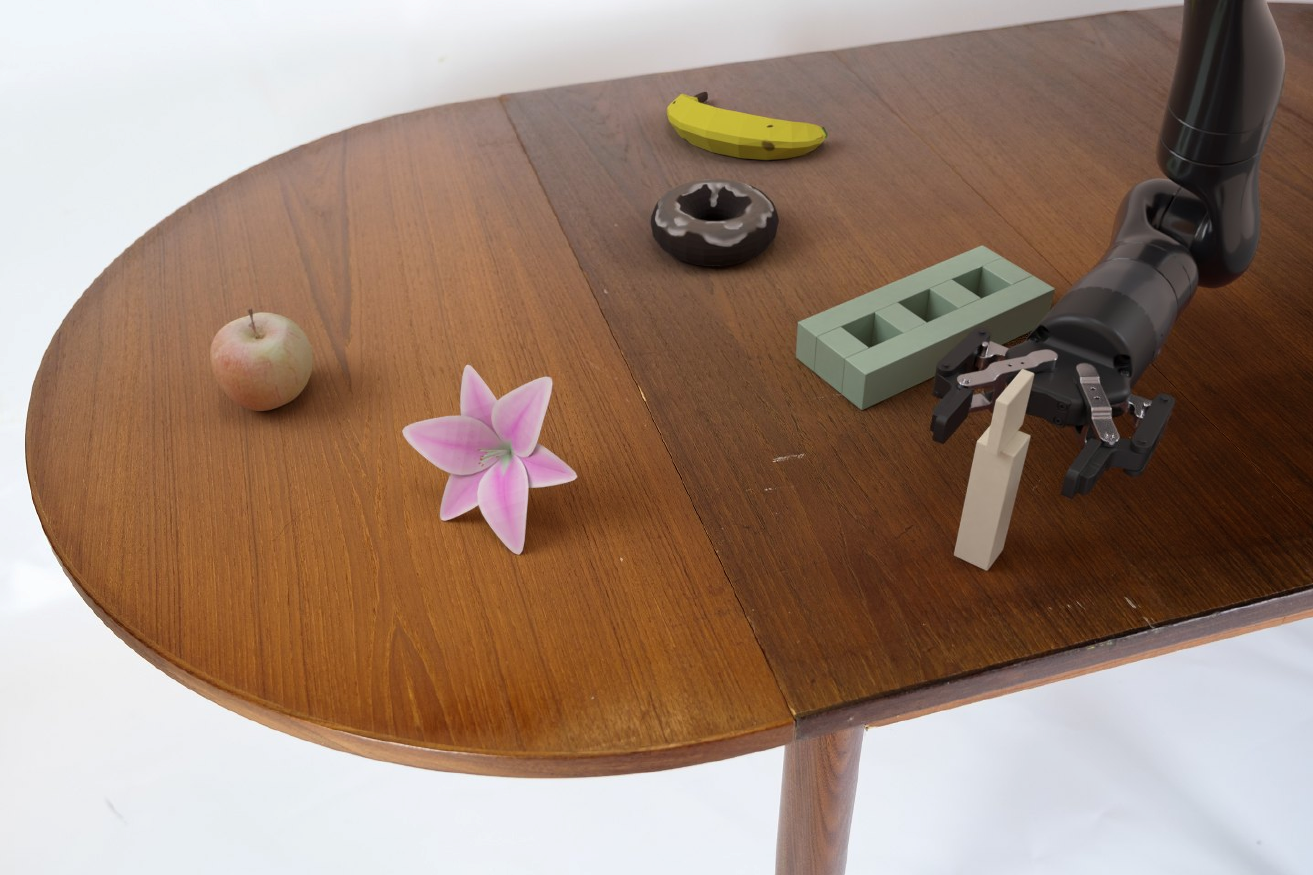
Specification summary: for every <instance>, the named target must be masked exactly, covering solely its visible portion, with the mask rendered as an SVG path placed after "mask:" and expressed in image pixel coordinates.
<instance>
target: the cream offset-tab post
mask: <svg viewBox="0 0 1313 875" xmlns="http://www.w3.org/2000/svg"><path fill="white" fill-rule="evenodd" d="M1033 378H1034V373H1032V372H1030V371H1027V370H1024V369H1022V370H1021V371H1020V372H1019V373H1018V375H1017V376H1016V377H1015V378H1014V379H1013V381H1012V382H1011V383H1010V384H1009V385H1008V386H1007V385H1006V387H1005V388H1004V391H1003V392H1002V394H1001V395H1000V396H999V397H998V398H997V399H996V403H995V407H994V412H993V413H992V417H991V422H990V425H989V426H988V427H987V429H986V430H985V431H984V432H983V434H982V435H981V436H980V437H979V438H978V439H977V441H976V444H975V448H974V454H973V459H972V464H971V468H970V473H969V477H968V478H969V479H968V483H967V489H966V494H965V498H964V502H963V506H962V507H963V508H962V513H961V518H960V522H959V523H960V524H959V528H958V532H957V538H956V543H955V547H954V552H953V556H954V557H956V558H958V559H960V560H963V561H965V562H967V563H969V564H970V565H973V566H976V567H978V568H980V569H982V570H983V571H986V572H988V571H989V569H990V568H991V567H992V565H993V564H994V563H995V561H997V559H998V558H999V556H1000V555H1001V553H1002V552H1003V550H1004V547H1005V543H1006V540H1007V535H1008V531H1009V528H1010V527H1009V526H1010V522H1011V518H1012V515H1013V510H1014V506H1015V503H1016V499H1017V494H1018V490H1019V486H1020V481H1021V478H1022V474H1023V470H1024V465H1025V460H1026V458H1027V453H1028V450H1029V445H1030V441H1031V438H1032V437H1031V434H1029V433H1026V432H1024V431H1021V430H1020V429H1021V427H1022V426H1023V424H1024V420H1025V415H1026V414H1025V412H1026V408H1027V403H1028V399H1029V395H1030V391H1031V386H1032V382H1033Z"/></svg>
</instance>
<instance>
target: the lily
mask: <svg viewBox="0 0 1313 875" xmlns="http://www.w3.org/2000/svg"><path fill="white" fill-rule="evenodd" d="M552 390H553V379H552V377H550V376H542V377H539V378H535V379H534V380H531V381H529V382H526V383H524V384H522V385H520V386H518V387H516V388H514V389H513V390H511V391H509V392H508V393H506V394H504V395H502V396H501V397H500V398H498V399H497V398H496V396H495V395H494V393H493V392H492V390H491V389H490V388H489V386H488V385H487V384H486V382H485V381H484V379H483V378H482V377H481V376H480V374H479V373H478V372H477V371H476V370H475V369H474V367H473V366H472V365H470V364H466V365H465V366H464V368H463V373H462V377H461V386H460V399H459V406H460V414H459V415H446V416H445V415H444V416H439V417H434V418H428V419H424V420H420V421H417V422H412V423H410V424H408V425H406V426H404V428H403V429H402V431H401V432H402V435H403V438H404V439H405V440H406V441H407V443H408V444H409V445H410V446H411V447H412V448H414V450H416V452H418V453H419V454H420V455H421V456H422V457H424V458H425V459H426V460H427V461H428V462H429V463H431V464H433V466H435V467H437V469H439V470H441V471H444V472H446V473H448V474H449V477H448V480H447V482H446V484H445V487H444V491H443V493H442V494H443V495H442V498H441V503H440V507H439V508H440V509H439V518H440V521H444V522H445V521H448V520H452V519H455V518H457V517H459V516H461V515H463V514H465V513H467V512H469V511H471V510H473V509H475V508H476V507H478V508H479V510H480V512H481V515H482V517H483V518H484V520H485V521H486V522H487V524H488V525H489V527H490V528H491V529H492V531H493V532H494V534H495V535H496V536H497V537H498V538H499V540H500V541H501V542H502V543H503V544H504V545H505V547H506V548H508V550H510V551H511V552H512V553H513V554H516V555H519V556H520V555H521V553H522V552H523V551H524V545H525V540H526V529H527V528H526V527H527V514H528V513H527V512H528V502H529V488H532V489H534V488H535V489H536V488H545V487H552V486H557V485H562V484H566V483H569V482H573V481H575V480H576V479H577V478H578V475H577V472H576V471H575V470H574V469H573V468H572V467H571V466H569V465H568V464H567V463H566V462H565V461H563V459H561V458H560V457H558V456H557V455H556V454H555V453H553V452H552V451H551V450H550V449H548V448H546V447H545V446H544V445H542V444H540V443H539V442H538V440H539V437H540V434H541V430H542V427H543V424H544V420H545V416H546V413H547V410H548V407H549V403H550V399H551V396H552Z"/></svg>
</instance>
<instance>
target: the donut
mask: <svg viewBox="0 0 1313 875" xmlns="http://www.w3.org/2000/svg"><path fill="white" fill-rule="evenodd" d="M779 223H780V219H779V213H778V211H777V208H776V205H775V204H774V202H773V200H771V199H770V197H769V196H768V195H767V194H766V193H764V192H763V190H761V189H759V188H757V187H755V186H753V185H751V184H748V183H745V182H742V181H738V180H731V179H726V178H725V179H724V178H707V179H705V178H704V179H699V180H693V181H690V182H686V183H683V184H679V185H678V186H676V187H674V188H672V189H670V190H668V191H667V192H666V193H665V194H664V195H663V196H661V198H660V199H658V201H656V204H655V206H654V208H653V211H652V213H651V216H650V227H651V232H652V237H653V238H654V240H655V242H656V243H657V244H658V246H659V247H660V248H661V250H663V251H664V252H665V253H667V254H668V255H670V256H671V257H673V258H674V259H676V260H679V261H681V262H685V263H687V264H689V265H696V266H703V267H726V266H732V265H737V264H741V263H744V262H747V261H750V260H752V259H754V258H755V257H757V256H759V255H760V254H761V253H763V252H765V251H766V250H767V249H768V247H769V246H770V245H771V244H772V243H773V242H774V240H775V238H776V236H777V233H778V229H779Z"/></svg>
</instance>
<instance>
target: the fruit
mask: <svg viewBox="0 0 1313 875" xmlns="http://www.w3.org/2000/svg"><path fill="white" fill-rule="evenodd" d="M246 311H247V313H248V315H245V316H242V317H239V318H237V319H234V320H232V321H230V322H228V323H227V324H224V326H222V327H221V328H220V329H219V330H218V331H217V333H216V334H215V336H214V337H213V340H212V342H211V345H210V349H209V350H210V351H209V352H210V353H209V360H210V366H211V370H212V373H213V377H214V378H215V380H216V381H217V384H218V386H219V387H220V388H221V390H222V391H223V393H225V395H226V396H227V397H228V398H229V399H230V400H231V401H233V402H234V403H236V404H237V405H239V406H240V407H242V408H244V409H247V410H250V411H256V412H264V411H265V412H266V411H270V410H274V409H277V408H280V407H282V406H284V405H287V404H289V403H290V402H292V401H294V400H295V399H296V398H297V397H299V395H301V393H302V392H303V390H304V389H305V387H306V386H307V384H308V382H309V380H310V378H311V375H312V371H313V366H314V356H313V349H312V346H311V343H310V341H309V339H308V336H307V335H306V333H305V332H304V331H303V329H302V328H301V327H300V326H299V325H298V324H297V323H296V322H295V321H294V320H292V319H290V318H288V317H286V316H284V315H281V314H279V313H278V314H277V313H274V312H266V311H265V312H255V313H254V311H253V308H249V309H247V310H246Z"/></svg>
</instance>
